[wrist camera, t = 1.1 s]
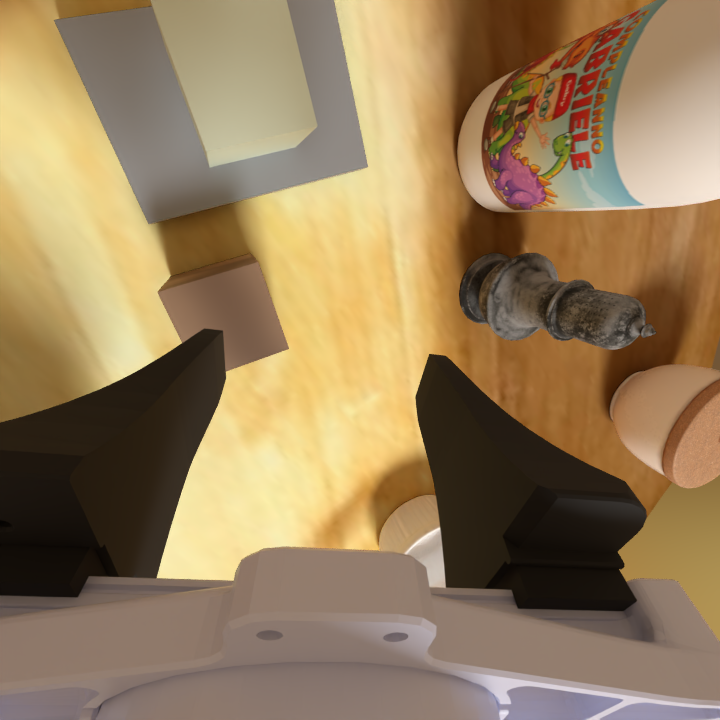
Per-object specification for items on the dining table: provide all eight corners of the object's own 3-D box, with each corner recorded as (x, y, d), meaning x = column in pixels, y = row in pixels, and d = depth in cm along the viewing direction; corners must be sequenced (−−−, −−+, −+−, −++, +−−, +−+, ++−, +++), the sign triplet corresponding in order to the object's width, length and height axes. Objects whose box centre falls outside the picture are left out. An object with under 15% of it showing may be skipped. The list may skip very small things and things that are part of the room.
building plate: (151, 223, 19) (148, 224, 18) (62, 30, 16) (53, 19, 15) (362, 169, 22) (368, 167, 21) (324, -7, 18) (330, -19, 17)
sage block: (209, 167, 18) (206, 151, 14) (168, 57, 16) (149, -3, 12) (295, 147, 19) (317, 125, 15) (265, 40, 17) (281, -21, 13)
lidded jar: (581, 451, 39) (680, 515, 30) (606, 356, 35) (726, 399, 26) (652, 433, 42) (758, 485, 34) (682, 343, 38) (810, 378, 30)
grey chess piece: (447, 268, 26) (604, 302, 15) (515, 236, 27) (706, 247, 16) (464, 339, 28) (608, 411, 18) (526, 308, 29) (697, 358, 19)
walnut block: (204, 348, 22) (200, 380, 18) (171, 276, 20) (157, 292, 16) (276, 324, 23) (289, 348, 19) (250, 253, 21) (258, 261, 17)
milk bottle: (557, 80, 24) (1502, -308, 6) (543, 208, 27) (1158, 189, 9) (454, 77, 22) (1459, -531, 4) (451, 217, 25) (1028, 213, 7)
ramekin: (450, 472, 33) (480, 505, 29) (463, 537, 37) (491, 574, 33) (361, 516, 31) (380, 557, 28) (384, 580, 35) (404, 623, 31)
